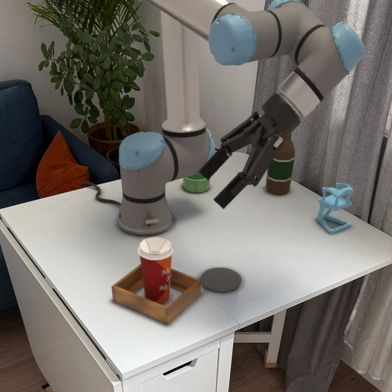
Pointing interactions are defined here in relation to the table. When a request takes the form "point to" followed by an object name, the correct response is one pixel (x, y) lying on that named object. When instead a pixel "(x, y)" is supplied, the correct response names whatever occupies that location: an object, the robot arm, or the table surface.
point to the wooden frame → (127, 296)
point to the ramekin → (196, 183)
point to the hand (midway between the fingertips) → (210, 189)
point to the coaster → (221, 280)
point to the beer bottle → (281, 168)
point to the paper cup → (156, 268)
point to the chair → (334, 205)
